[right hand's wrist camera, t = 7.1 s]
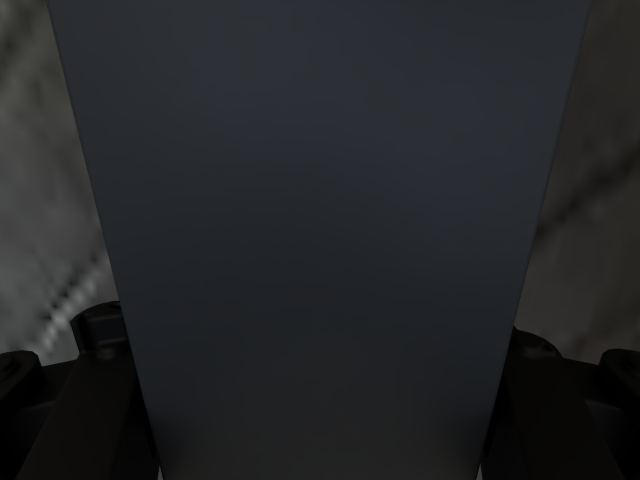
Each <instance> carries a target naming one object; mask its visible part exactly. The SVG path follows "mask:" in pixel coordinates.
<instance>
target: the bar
mask: <svg viewBox="0 0 640 480" xmlns="http://www.w3.org/2000/svg"><path fill="white" fill-rule="evenodd" d="M46 3H47V7H48V11H49V15H50V19H51V23H52V27H53V31H54V36H55V40H56V44H57V48H58V52H59V56H60V60H61V64H62V68H63V72H64V76H65V80H66V85H67V89H68V93H69V97H70V101H71V105H72V109H73V113H74V117H75V121H76V125H77V129H78V133H79V138H80V142H81V146H82V150H83V154H84V158H85V162H86V166H87V170H88V174H89V178H90V182H91V187H92V191H93V195H94V199H95V203H96V207H97V211H98V215H99V219H100V223H101V227H102V231H103V235H104V240H105V244H106V248H107V252H108V256H109V260H110V264H111V268H112V272H113V276H114V280H115V284H116V289H117V293H118V297H119V301H120V305H121V309H122V313H123V317H124V321H125V325H126V329H127V333H128V337H129V342H130V346H131V350H132V354H133V358H134V362H135V366H136V370H137V374H138V378H139V382H140V386H141V390H142V395H143V399H144V403H145V407H146V411H147V415H148V419H149V423H150V427H151V431H152V435H153V439H154V444H155V448H156V452H157V456H158V460H159V464H160V468H161V472H162V476H163V480H476V478H477V474H478V470H479V466H480V462H481V458H482V454H483V449H484V445H485V441H486V437H487V433H488V429H489V425H490V421H491V416H492V412H493V408H494V404H495V400H496V396H497V392H498V388H499V383H500V379H501V375H502V371H503V367H504V363H505V359H506V355H507V350H508V346H509V342H510V338H511V334H512V330H513V326H514V322H515V317H516V313H517V309H518V305H519V301H520V297H521V293H522V289H523V284H524V280H525V276H526V272H527V268H528V264H529V260H530V256H531V251H532V247H533V243H534V239H535V235H536V231H537V227H538V223H539V218H540V214H541V210H542V206H543V202H544V198H545V194H546V190H547V185H548V181H549V177H550V173H551V169H552V165H553V161H554V157H555V152H556V148H557V144H558V140H559V136H560V132H561V128H562V123H563V119H564V115H565V111H566V107H567V103H568V99H569V95H570V90H571V86H572V82H573V78H574V74H575V70H576V66H577V62H578V57H579V53H580V49H581V45H582V41H583V37H584V33H585V29H586V24H587V20H588V16H589V12H590V8H591V4H592V0H46Z"/></svg>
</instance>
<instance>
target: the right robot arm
mask: <svg viewBox="0 0 640 480" xmlns="http://www.w3.org/2000/svg"><path fill="white" fill-rule="evenodd" d="M70 324H71V327H72V330H73V334H74V337H75V340H76V343H77V346H78V350H79V353H80V354H79V356H78V358H77V359H76V360H72V361H67V362H62V363H57V364H52V365H47V366H41V363H40V360H39V358H38V355H37V354H35V353H34V352H32V351H24V350H20V351H13V352H6V353H2V354H1V355H0V480H158V473H159V465H160V464H159V460H158V456H157V452H156V448H155V444H154V439H153V435H152V431H151V427H150V423H149V419H148V415H147V411H146V407H145V403H144V399H143V395H142V390H141V386H140V382H139V378H138V374H137V370H136V366H135V362H134V358H133V354H132V350H131V346H130V342H129V337H128V333H127V329H126V325H125V321H124V317H123V313H122V309H121V305H120V301H111V302H107V303H102V304H99V305H96V306H93V307H91V308H88V309H86V310H84V311H83V312H81V313H79V314H78V315H76V316H75V317H74V318H73V319H72V320H71V321H70ZM480 464H481V472H482V479H483V480H640V353H639V352H637V351H633V350H625V349H609V350H607V351H606V352H604V353H603V354H602V357H601V359H600V362H599V365H596V364H591V363H586V362H581V361H576V360H571V359H566V358H563V357H562V356H561V354H560V352H559V351H558V350H557V349H556V347H555V346H554V345H552V344H551V343H549V342H548V341H547V340H545V339H543V338H541V337H539V336H537V335H534V334H532V333H528V332H524V331H520V330H517V328H516V327H515V326H513V330H512V334H511V338H510V342H509V346H508V350H507V355H506V359H505V363H504V367H503V371H502V375H501V379H500V383H499V388H498V392H497V396H496V400H495V404H494V408H493V412H492V416H491V421H490V425H489V429H488V433H487V437H486V441H485V445H484V449H483V454H482V458H481V462H480Z"/></svg>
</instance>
